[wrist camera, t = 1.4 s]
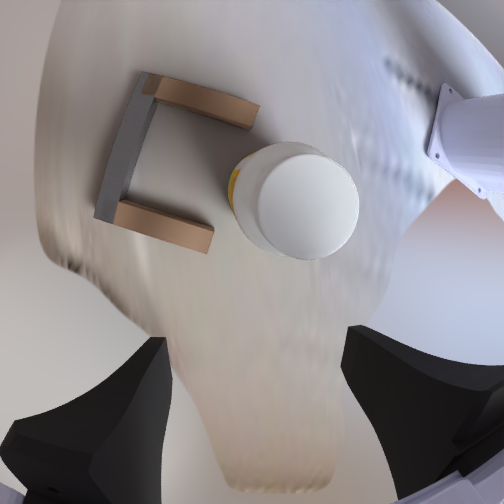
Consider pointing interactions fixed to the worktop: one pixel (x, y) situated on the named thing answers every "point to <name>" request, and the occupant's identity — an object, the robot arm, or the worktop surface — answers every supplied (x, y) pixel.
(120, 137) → the walnut dock
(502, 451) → the robot arm
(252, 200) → the supplement bottle
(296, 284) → the worktop surface
